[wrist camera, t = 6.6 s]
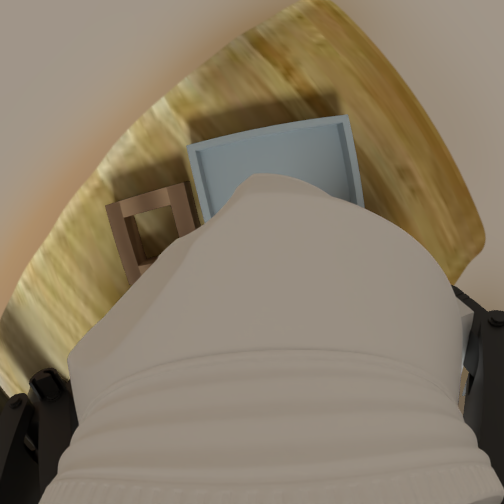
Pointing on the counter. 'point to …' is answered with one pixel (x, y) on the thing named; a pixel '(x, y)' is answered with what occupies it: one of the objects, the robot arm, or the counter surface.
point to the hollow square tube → (127, 208)
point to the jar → (277, 368)
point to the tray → (278, 160)
